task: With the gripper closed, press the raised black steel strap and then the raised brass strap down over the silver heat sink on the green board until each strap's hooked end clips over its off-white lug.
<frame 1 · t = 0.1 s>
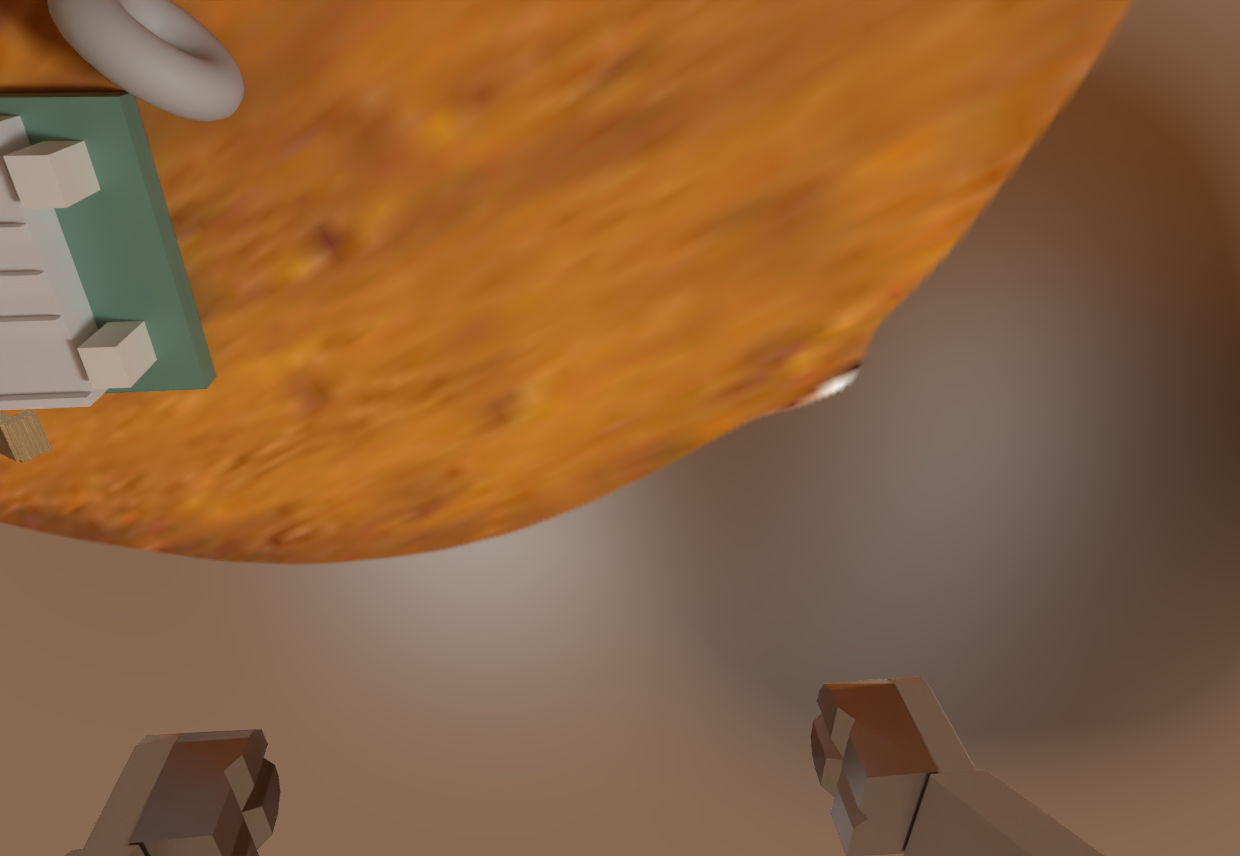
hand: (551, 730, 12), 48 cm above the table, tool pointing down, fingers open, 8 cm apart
donut: (187, 38, 48), on the table
board: (33, 251, 53), on the table
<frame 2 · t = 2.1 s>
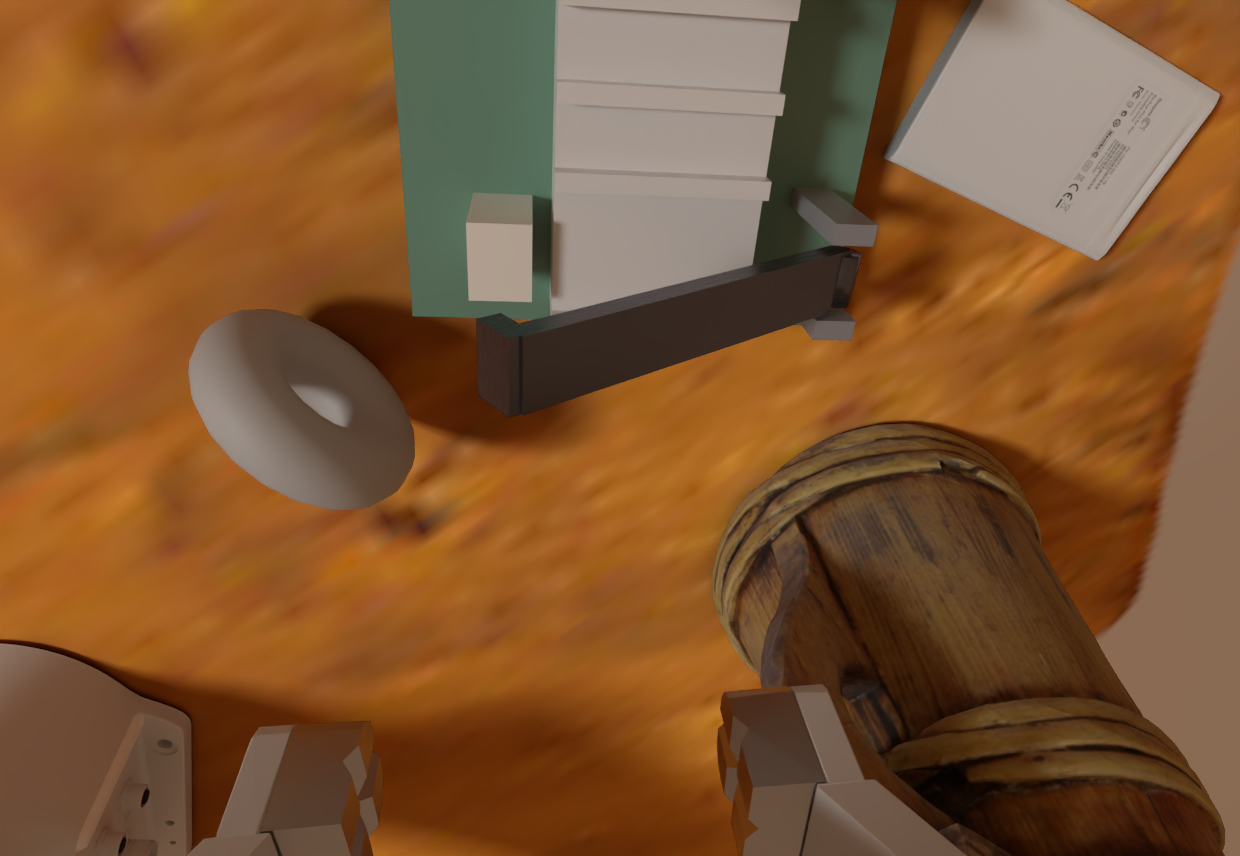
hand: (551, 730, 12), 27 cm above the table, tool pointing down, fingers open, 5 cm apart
tankard: (832, 531, 46), on the table
external hard drive: (1035, 121, 36), on the table
donut: (337, 354, 37), on the table
board: (638, 76, 32), on the table
strap black: (700, 312, 26), point 11 cm above the table, hinge at 35.0°
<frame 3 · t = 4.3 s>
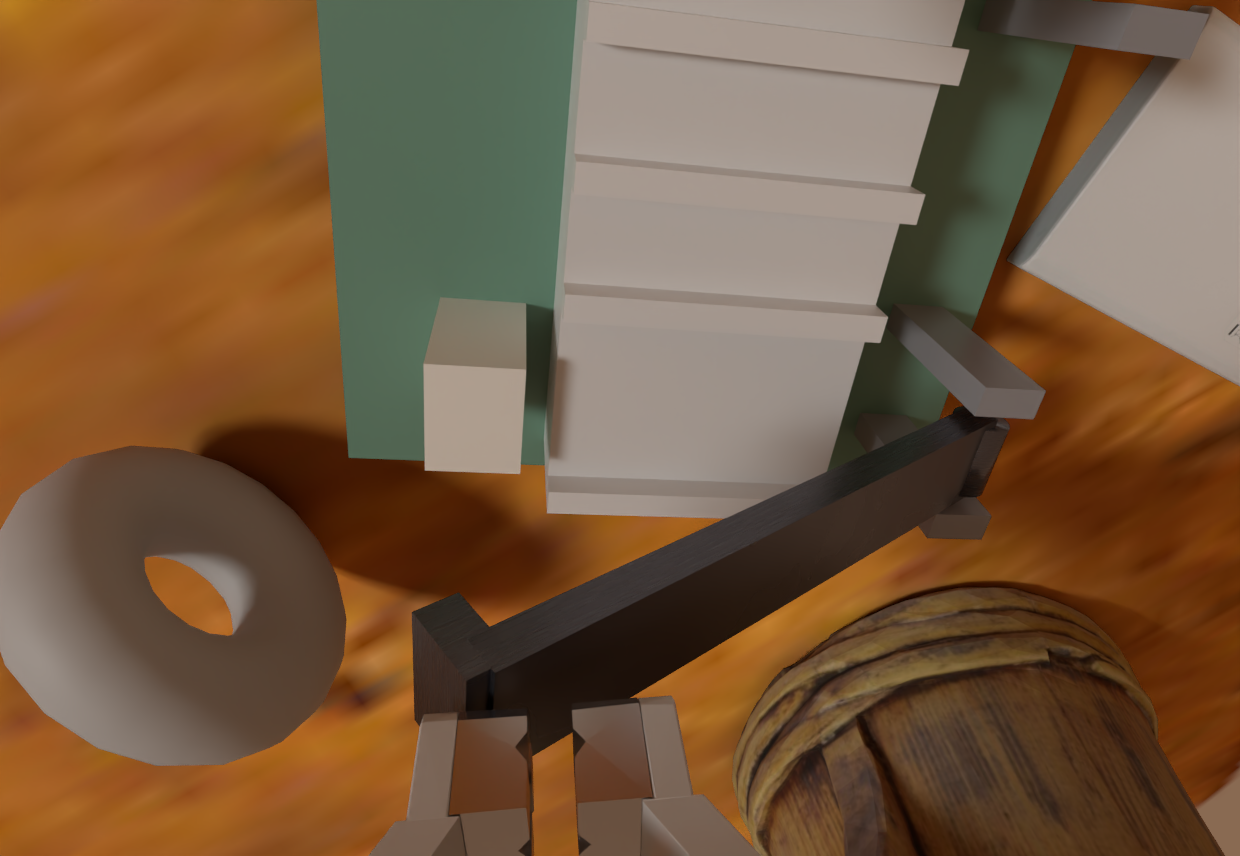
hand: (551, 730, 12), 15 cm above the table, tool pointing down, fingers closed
tankard: (885, 703, 37), on the table
external hard drive: (1208, 219, 26), on the table
donut: (246, 491, 27), on the table
board: (684, 140, 22), on the table
strap black: (784, 535, 17), point 11 cm above the table, hinge at 33.8°, touching gripper
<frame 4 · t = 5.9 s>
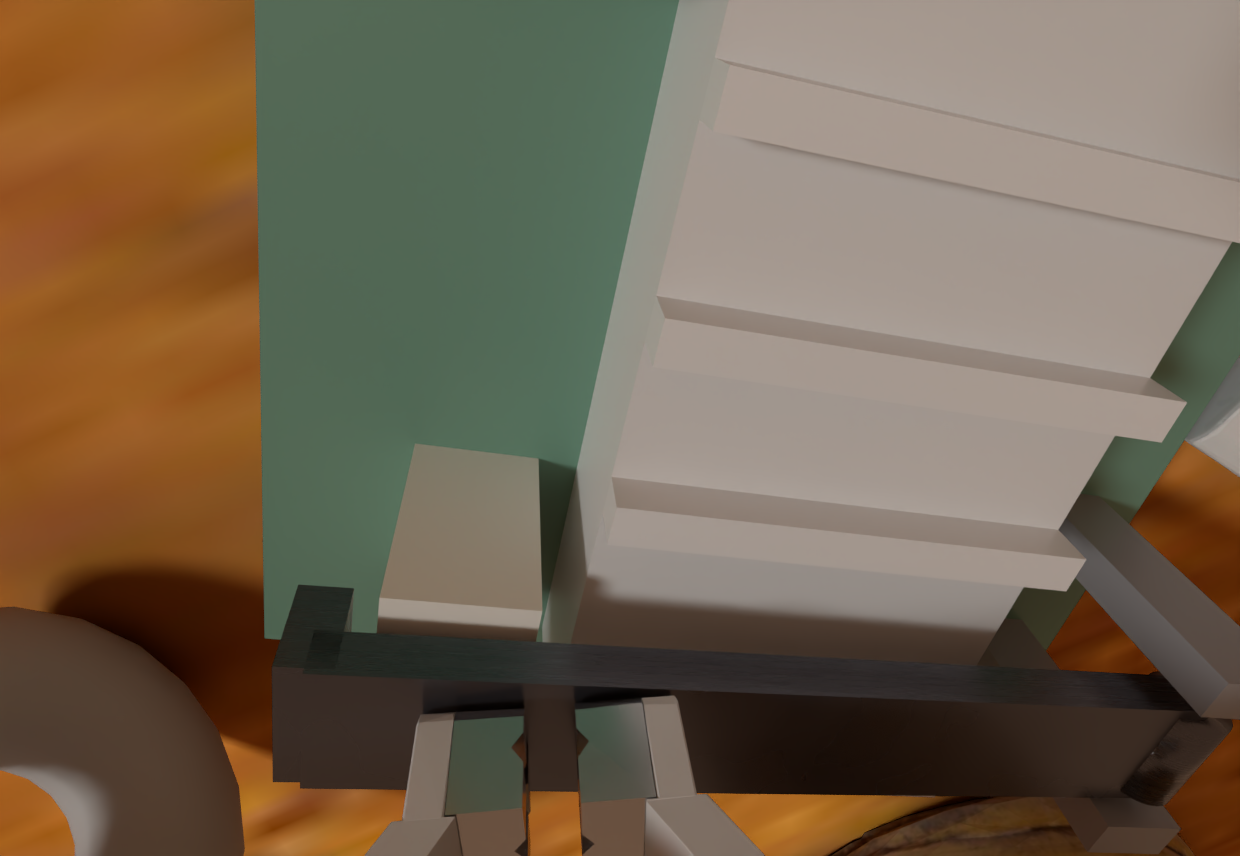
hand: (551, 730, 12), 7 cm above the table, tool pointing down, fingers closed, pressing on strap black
donut: (123, 647, 20), on the table
board: (780, 247, 16), on the table
strap black: (789, 711, 13), point 7 cm above the table, hinge at 1.6°, touching gripper
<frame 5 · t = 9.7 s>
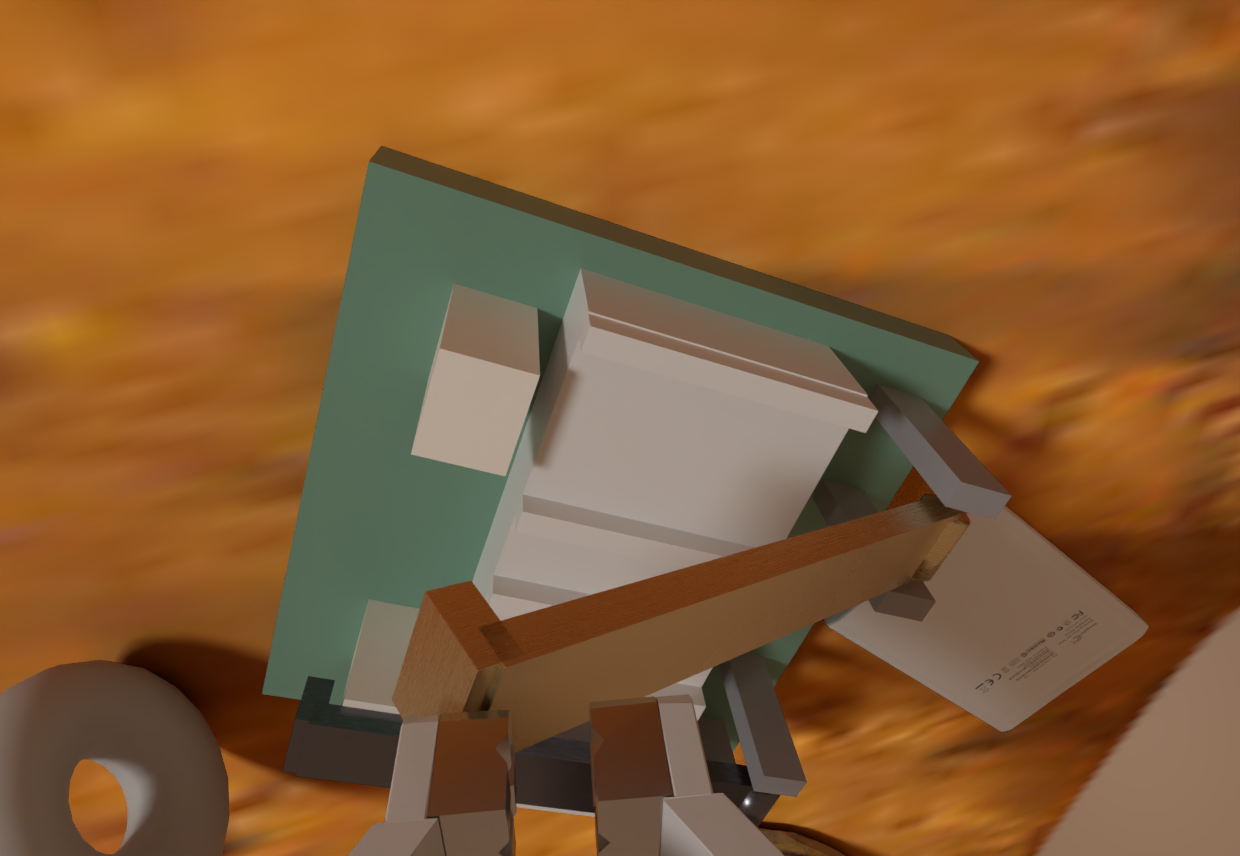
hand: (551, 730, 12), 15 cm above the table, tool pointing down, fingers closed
external hard drive: (975, 601, 34), on the table
donut: (161, 684, 31), on the table
strap brass: (762, 584, 17), point 10 cm above the table, hinge at 32.9°, touching gripper
board: (589, 505, 28), on the table
strap black: (549, 764, 26), point 6 cm above the table, hinge at 0.0°, touching board
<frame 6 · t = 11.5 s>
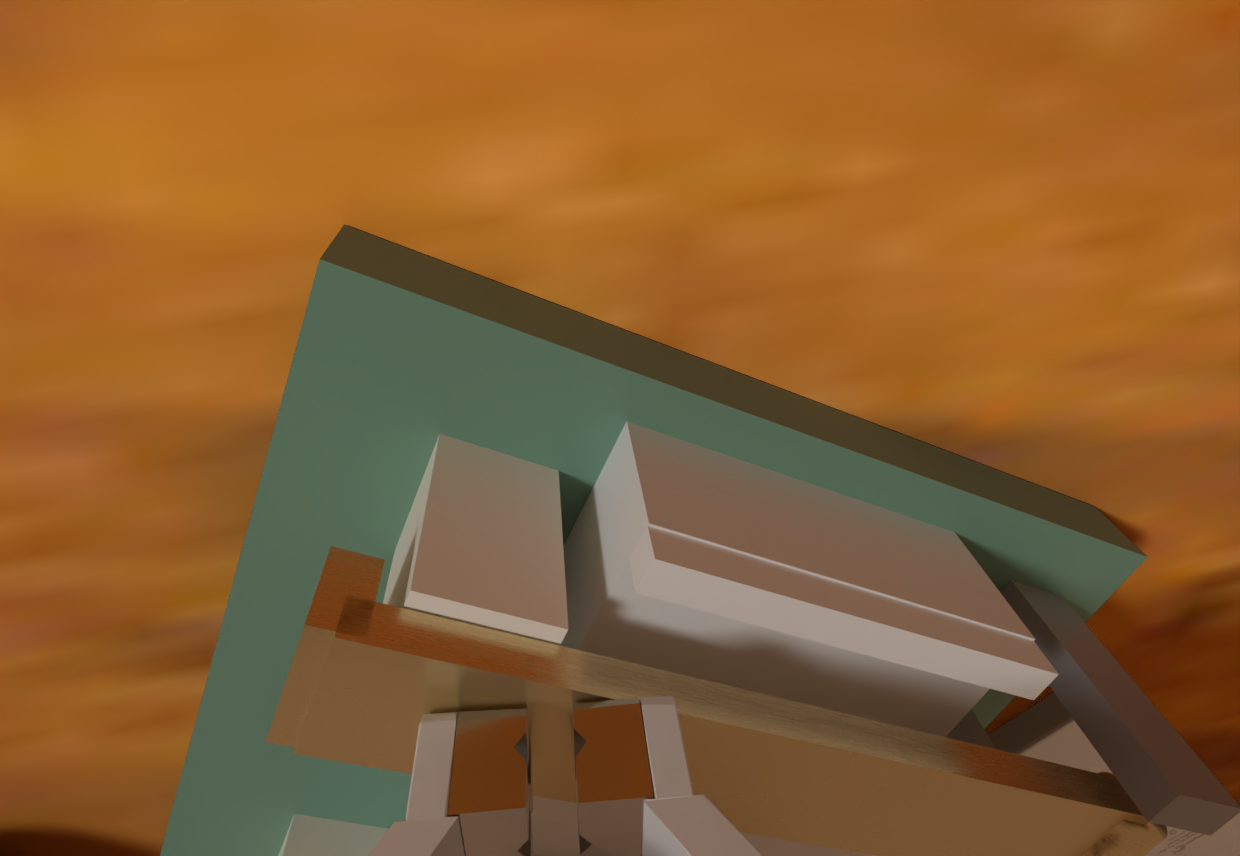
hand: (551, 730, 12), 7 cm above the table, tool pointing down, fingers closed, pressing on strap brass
external hard drive: (1057, 792, 28), on the table
strap brass: (774, 754, 13), point 6 cm above the table, hinge at 0.2°, touching gripper
board: (599, 688, 22), on the table
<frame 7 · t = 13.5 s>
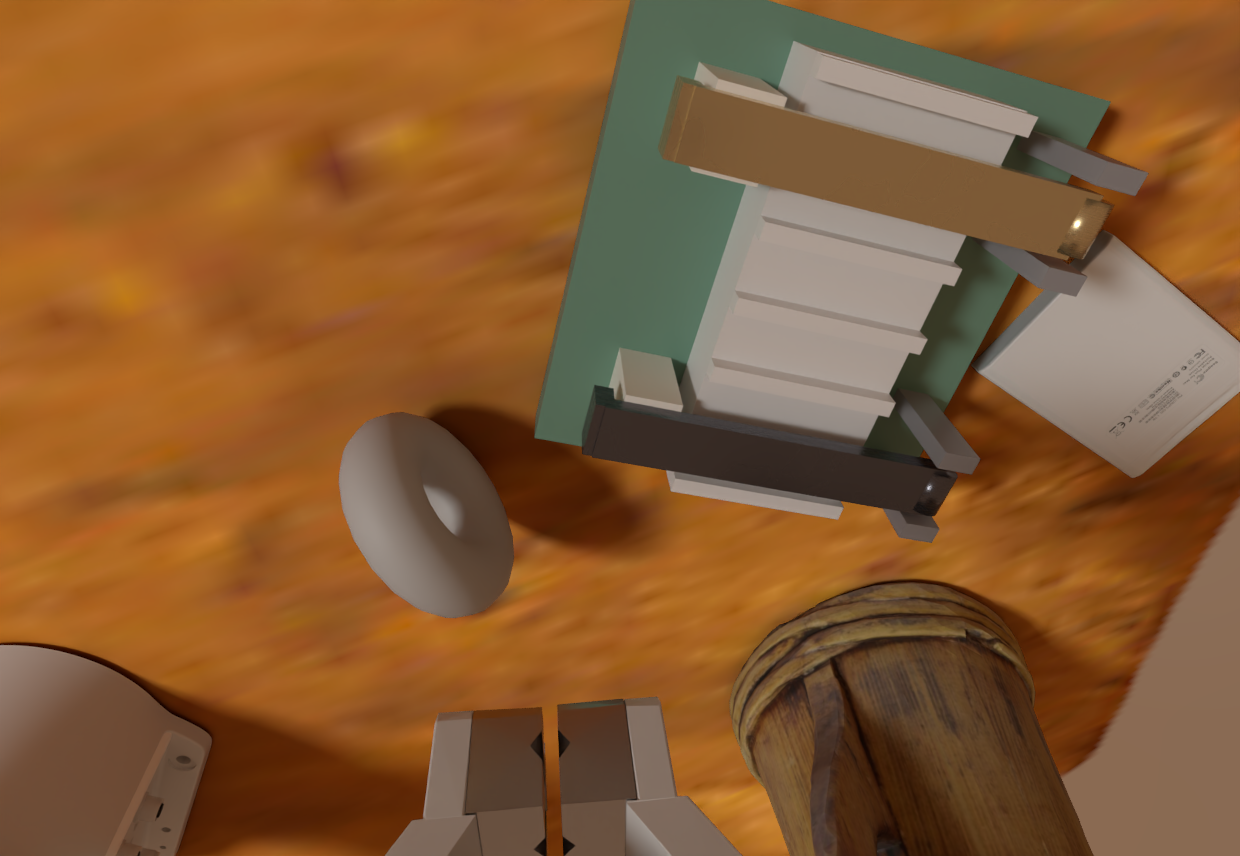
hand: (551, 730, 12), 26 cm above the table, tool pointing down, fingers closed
tankard: (847, 661, 50), on the table
external hard drive: (1105, 355, 40), on the table
donut: (447, 449, 40), on the table
strap brass: (891, 175, 27), point 6 cm above the table, hinge at 0.1°
board: (783, 269, 36), on the table
strap black: (773, 455, 33), point 6 cm above the table, hinge at 0.0°, touching board
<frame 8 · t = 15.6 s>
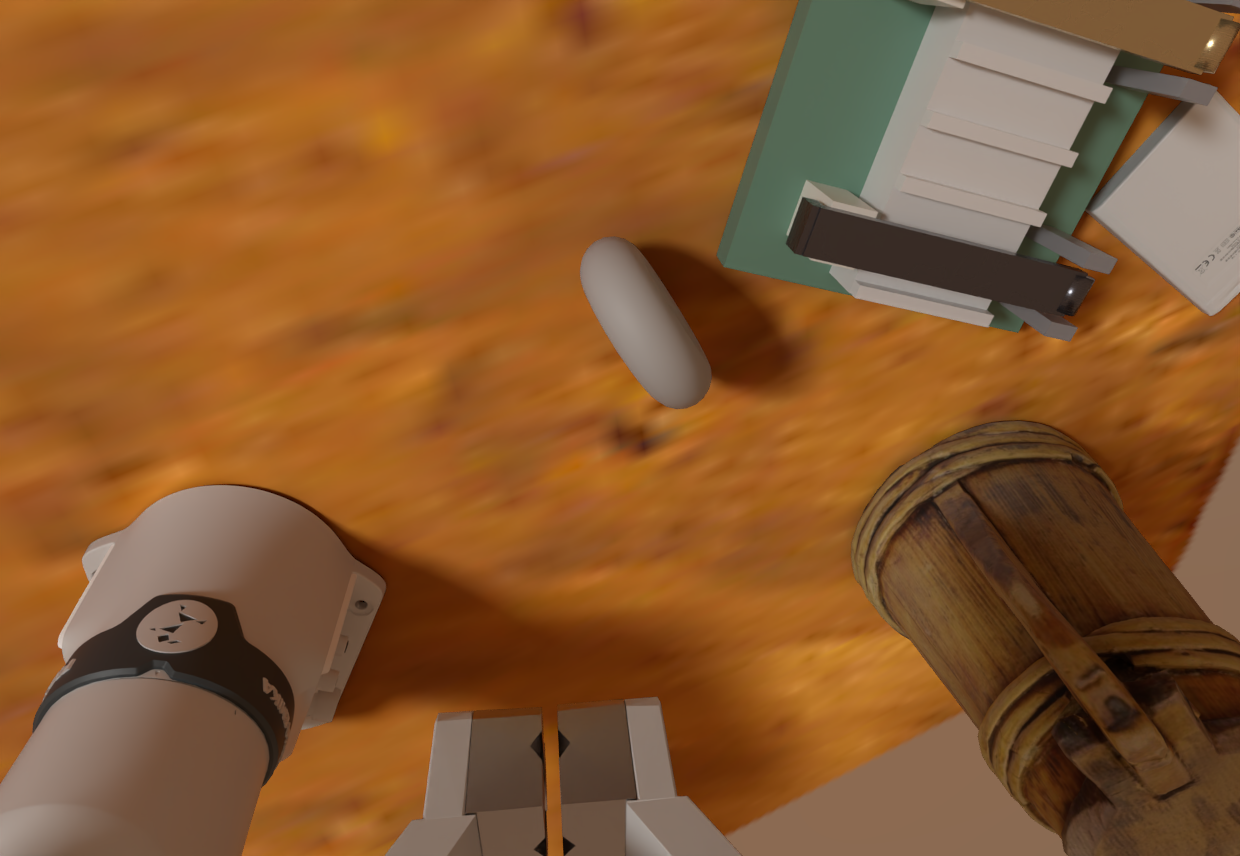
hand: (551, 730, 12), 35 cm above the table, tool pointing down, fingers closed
tankard: (953, 504, 57), on the table
external hard drive: (1191, 203, 47), on the table
donut: (635, 288, 46), on the table
board: (938, 116, 42), on the table
strap black: (945, 261, 39), point 6 cm above the table, hinge at 0.0°, touching board
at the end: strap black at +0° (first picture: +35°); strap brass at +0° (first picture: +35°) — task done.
